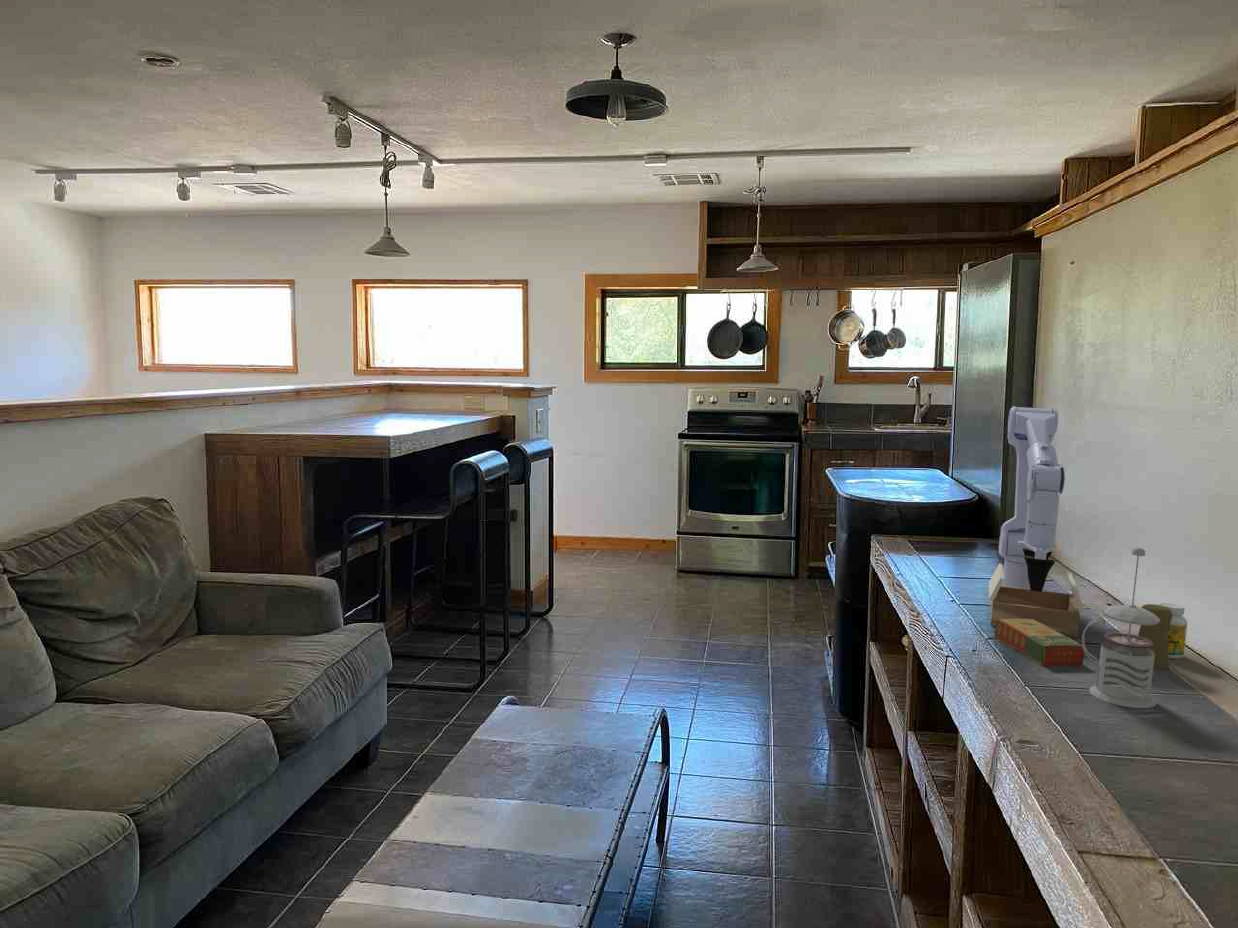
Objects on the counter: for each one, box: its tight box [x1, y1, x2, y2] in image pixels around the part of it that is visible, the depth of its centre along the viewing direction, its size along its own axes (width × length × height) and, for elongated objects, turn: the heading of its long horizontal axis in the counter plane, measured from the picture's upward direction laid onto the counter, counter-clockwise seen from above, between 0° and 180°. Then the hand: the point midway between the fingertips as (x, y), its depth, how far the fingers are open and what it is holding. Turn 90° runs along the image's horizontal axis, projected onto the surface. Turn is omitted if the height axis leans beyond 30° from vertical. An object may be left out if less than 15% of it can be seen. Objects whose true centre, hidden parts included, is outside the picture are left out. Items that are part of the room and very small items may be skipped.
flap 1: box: [988, 563, 1004, 601], centre depth 192 cm, size 15×5×1 cm
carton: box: [994, 619, 1085, 667], centre depth 170 cm, size 8×16×4 cm, turn 8°
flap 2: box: [1066, 571, 1085, 613], centre depth 186 cm, size 15×5×1 cm
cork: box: [1132, 603, 1172, 671], centre depth 165 cm, size 6×6×11 cm
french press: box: [1081, 547, 1160, 709], centre depth 148 cm, size 10×12×25 cm
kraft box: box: [989, 585, 1081, 639], centre depth 190 cm, size 16×16×5 cm
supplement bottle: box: [1159, 602, 1188, 660], centre depth 171 cm, size 5×5×10 cm
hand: (1035, 586), depth 189 cm, fingers open, 7 cm apart
